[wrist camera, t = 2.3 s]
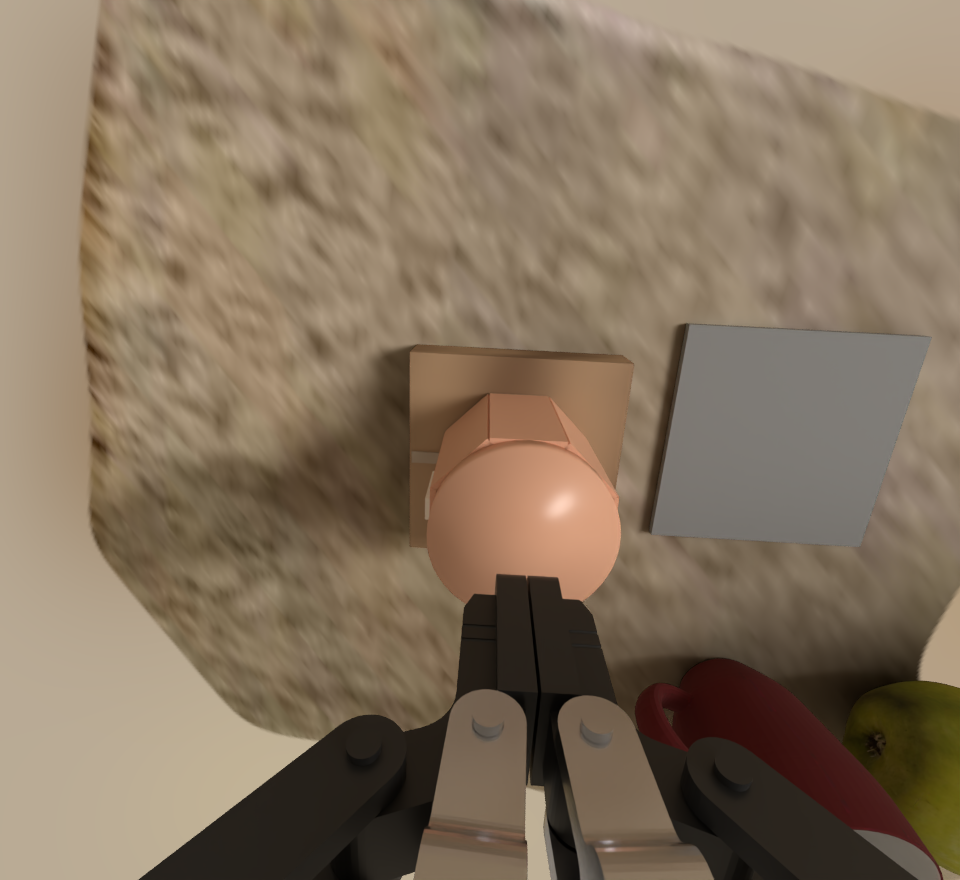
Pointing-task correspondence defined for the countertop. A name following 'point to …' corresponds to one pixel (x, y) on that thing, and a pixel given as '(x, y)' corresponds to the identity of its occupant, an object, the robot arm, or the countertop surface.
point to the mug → (782, 749)
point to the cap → (520, 500)
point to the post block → (480, 371)
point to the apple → (914, 757)
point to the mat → (782, 432)
